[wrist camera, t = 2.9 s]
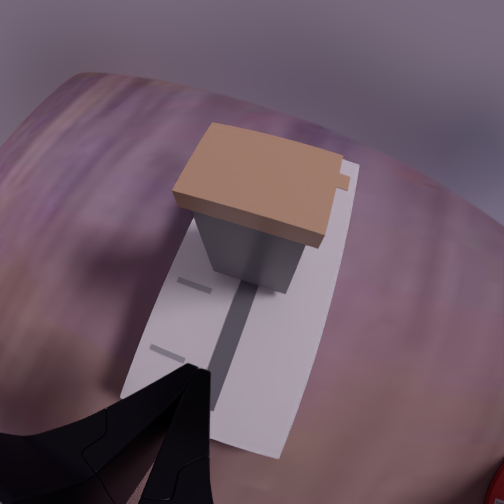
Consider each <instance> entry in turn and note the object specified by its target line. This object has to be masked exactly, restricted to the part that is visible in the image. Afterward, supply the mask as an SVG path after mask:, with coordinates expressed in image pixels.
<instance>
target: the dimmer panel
mask: <svg viewBox="0 0 504 504" xmlns="http://www.w3.org/2000/svg"><path fill="white" fill-rule="evenodd" d="M358 171H359V165H358V164H355V163H352V162H349V161H346V160H343V159H342V164H341V169H340V173H339V178H338V183H337V187H336V192H335V196H334V200H333V205H332V209H331V213H330V217H329V221H328V225H327V229H326V233H325V236H324V238H323V240H322V242H321V244H320V246H319V248H318V249H316V248H313V247H310V246H307V245H306V246H305V248H304V251H303V253H302V256H301V258H300V261H299V263H298V266H297V268H296V271H295V273H294V276H293V278H292V280H291V283H290V285H289V288H288V290H287V292H286V294H283V293H280V292H277V291H274V290H270V289H267V288H264V287H261V286H258V285H255V284H252V283H249V282H246V281H243V280H240V279H237V278H234V277H231V276H228V275H225V274H222V273H219V272H216V271H213V268H212V266H211V263H210V260H209V258H208V255H207V252H206V250H205V247H204V244H203V242H202V239H201V236H200V233H199V231H198V228H197V225H196V222H195V219H194V218H193V220H192V222H191V224H190V226H189V228H188V230H187V233H186V235H185V237H184V239H183V241H182V243H181V246H180V248H179V250H178V252H177V254H176V257H175V259H174V261H173V263H172V266H171V268H170V270H169V272H168V275H167V277H166V279H165V282H164V284H163V286H162V289H161V291H160V293H159V296H158V298H157V301H156V303H155V305H154V308H153V310H152V313H151V315H150V318H149V320H148V323H147V325H146V328H145V330H144V333H143V335H142V338H141V340H140V343H139V346H138V348H137V351H136V354H135V356H134V359H133V362H132V364H131V367H130V370H129V373H128V375H127V378H126V381H125V384H124V387H123V389H122V392H121V395H120V398H121V399H124V398H126V397H128V396H129V395H131V394H133V393H135V392H137V391H139V390H140V389H142V388H144V387H146V386H148V385H149V384H151V383H153V382H155V381H156V380H158V379H160V378H162V377H164V376H165V375H167V374H169V373H170V372H172V371H174V370H176V369H177V368H179V367H181V366H182V365H184V364H186V363H191V364H193V365H196V366H198V367H199V368H203V369H206V370H209V371H211V373H212V377H211V407H210V438H211V439H214V440H217V441H220V442H222V443H225V444H228V445H231V446H234V447H238V448H241V449H244V450H247V451H251V452H254V453H258V454H261V455H265V456H269V457H272V458H276V459H279V457H280V455H281V452H282V450H283V447H284V445H285V442H286V439H287V437H288V434H289V432H290V429H291V426H292V424H293V421H294V418H295V415H296V413H297V410H298V407H299V404H300V401H301V399H302V396H303V393H304V390H305V387H306V384H307V381H308V378H309V375H310V372H311V369H312V365H313V362H314V359H315V356H316V353H317V349H318V346H319V343H320V339H321V336H322V332H323V329H324V325H325V322H326V318H327V315H328V311H329V307H330V303H331V300H332V296H333V292H334V288H335V284H336V280H337V276H338V272H339V267H340V263H341V259H342V254H343V250H344V245H345V241H346V236H347V231H348V226H349V221H350V216H351V211H352V206H353V200H354V195H355V189H356V183H357V177H358Z"/></svg>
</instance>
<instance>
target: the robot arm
mask: <svg viewBox="0 0 504 504" xmlns="http://www.w3.org/2000/svg"><path fill="white" fill-rule="evenodd" d="M211 377H212V373H211V371H209V370H206V369H203V368H199V367H198V366H196V365H193V364H191V363H186V364H184V365H182V366H181V367H179V368H177V369H176V370H174V371H172V372H170V373H169V374H167V375H165V376H164V377H162V378H160V379H158V380H156V381H155V382H153V383H151V384H149V385H148V386H146V387H144V388H142V389H140V390H139V391H137V392H135V393H133V394H131V395H129V396H128V397H126V398H124V399H122V400H120V401H118V402H116V403H114V404H113V405H111V406H109V407H107V409H106V408H105V409H103V410H101V411H99V412H97V413H95V414H93V415H91V416H88V417H86V418H84V419H82V420H79V421H76V422H74V423H71V424H68V425H65V426H62V427H59V428H56V429H53V430H49V431H46V432H43V433H39V434H36V435H29V436H19V435H12V434H5V433H0V504H126V503H127V501H128V500H129V498H130V497H131V495H132V494H133V492H134V491H135V489H136V488H137V486H138V485H139V483H140V482H141V481H142V479H143V478H144V476H145V475H146V473H147V472H148V470H149V469H150V467H151V466H152V464H153V463H154V465H153V467H152V470H151V472H150V475H149V477H148V480H147V482H146V485H145V488H144V490H143V493H142V495H141V499H140V500H139V503H138V504H214V503H213V498H212V491H211V484H210V457H209V455H210V407H211ZM154 461H155V462H154Z"/></svg>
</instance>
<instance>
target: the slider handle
mask: <svg viewBox="0 0 504 504" xmlns="http://www.w3.org/2000/svg"><path fill="white" fill-rule="evenodd" d="M342 159H343V155H340V154H337V153H333V152H330V151H327V150H324V149H320V148H317V147H314V146H310V145H307V144H303V143H299V142H296V141H292V140H288V139H285V138H281V137H277V136H273V135H269V134H265V133H260V132H256V131H252V130H247V129H243V128H238V127H233V126H228V125H223V124H218V123H213V122H212V123H211V125H210V127H209V128H208V130H207V131H206V133H205V135H204V136H203V138H202V139H201V141H200V143H199V144H198V146H197V148H196V149H195V151H194V153H193V154H192V156H191V158H190V159H189V161H188V163H187V165H186V166H185V168H184V170H183V172H182V173H181V175H180V177H179V179H178V180H177V182H176V184H175V186H174V188H173V189H172V192H173V194H174V197H175V199H176V202H177V204H178V207H181V208H184V209H188V210H191V211H192V214H193V217H194V219H195V222H196V225H197V228H198V231H199V233H200V236H201V239H202V242H203V244H204V247H205V250H206V252H207V255H208V258H209V260H210V263H211V266H212V268H213V271H216V272H219V273H222V274H225V275H228V276H231V277H234V278H237V279H240V280H243V281H246V282H249V283H252V284H255V285H258V286H261V287H264V288H267V289H270V290H274V291H277V292H280V293H283V294H286V292H287V290H288V288H289V285H290V283H291V280H292V278H293V276H294V273H295V271H296V268H297V266H298V263H299V261H300V258H301V256H302V253H303V251H304V248H305V246H306V245H307V246H310V247H313V248H316V249H318V248H319V246H320V244H321V242H322V240H323V238H324V236H325V233H326V229H327V225H328V221H329V217H330V213H331V209H332V205H333V200H334V196H335V192H336V187H337V183H338V178H339V173H340V169H341V164H342Z"/></svg>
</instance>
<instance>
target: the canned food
mask: <svg viewBox="0 0 504 504" xmlns="http://www.w3.org/2000/svg"><path fill="white" fill-rule="evenodd" d="M485 504H504V462H503V464H502V465H501V466H500V468H499V469H498V471H497V472H496V474H495V476H494V478H493V480H492V482H491V484H490V486H489V489H488V491H487V494H486V498H485Z"/></svg>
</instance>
